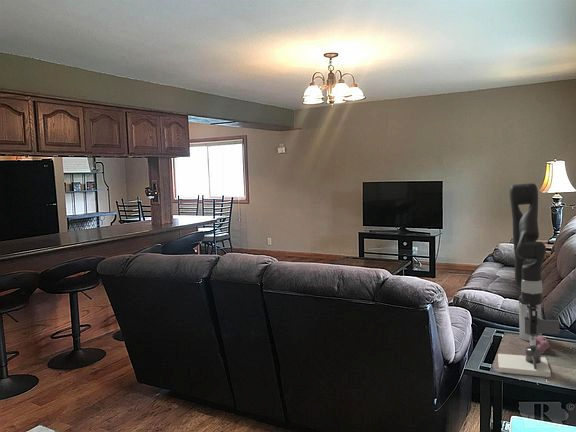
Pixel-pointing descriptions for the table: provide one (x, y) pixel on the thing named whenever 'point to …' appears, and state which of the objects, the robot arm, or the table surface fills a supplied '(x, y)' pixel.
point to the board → (522, 365)
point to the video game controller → (541, 343)
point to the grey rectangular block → (542, 326)
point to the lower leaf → (533, 352)
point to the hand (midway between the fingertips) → (532, 331)
